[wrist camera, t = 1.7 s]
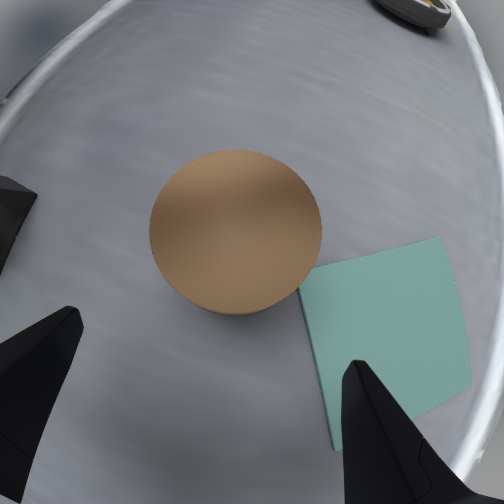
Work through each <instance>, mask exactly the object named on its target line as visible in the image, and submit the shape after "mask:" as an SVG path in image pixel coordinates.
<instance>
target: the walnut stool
mask: <svg viewBox="0 0 504 504" xmlns="http://www.w3.org/2000/svg"><path fill="white" fill-rule="evenodd" d="M149 235H150V244H151V250H152V253H153V256H154V259H155V262H156V264H157V266H158V268H159V270H160V272H161V273H162V275H163V276H164V278H165V279H166V280H167V282H168V283H169V284H170V285H171V286H172V287H173V288H174V289H175V290H176V291H177V292H178V293H180V294H181V295H182V296H184V297H185V298H186V299H188V300H190V301H191V302H193V303H194V304H196V305H198V306H200V307H201V308H203V309H206V310H208V311H211V312H214V313H218V314H221V315H230V316H242V315H249V314H254V313H257V312H261V311H263V310H265V309H268V308H270V307H272V306H273V305H275V304H277V303H278V302H280V301H281V300H283V299H284V298H286V297H287V296H289V295H290V294H291V293H292V292H293V291H295V290H296V289H297V288H298V287H299V286H300V285H301V283H302V282H303V281H304V280H305V279H306V277H307V276H308V274H309V273H310V271H311V270H312V268H313V266H314V264H315V262H316V259H317V256H318V253H319V250H320V245H321V239H322V225H321V217H320V213H319V209H318V206H317V203H316V201H315V198H314V196H313V195H312V193H311V191H310V189H309V188H308V186H307V185H306V184H305V182H304V181H303V180H302V179H301V178H300V177H299V176H298V175H297V173H295V172H294V171H293V170H292V169H291V168H289V167H288V166H287V165H285V164H283V163H282V162H280V161H278V160H276V159H274V158H272V157H270V156H267V155H264V154H261V153H258V152H253V151H246V150H225V151H218V152H214V153H210V154H207V155H204V156H202V157H199V158H197V159H195V160H193V161H191V162H190V163H188V164H187V165H185V166H184V167H182V168H181V169H180V170H178V171H177V172H176V173H175V174H174V175H173V176H172V177H171V178H170V179H169V180H168V181H167V183H166V184H165V186H164V187H163V188H162V190H161V191H160V193H159V195H158V197H157V199H156V201H155V204H154V207H153V210H152V214H151V218H150V228H149Z"/></svg>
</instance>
